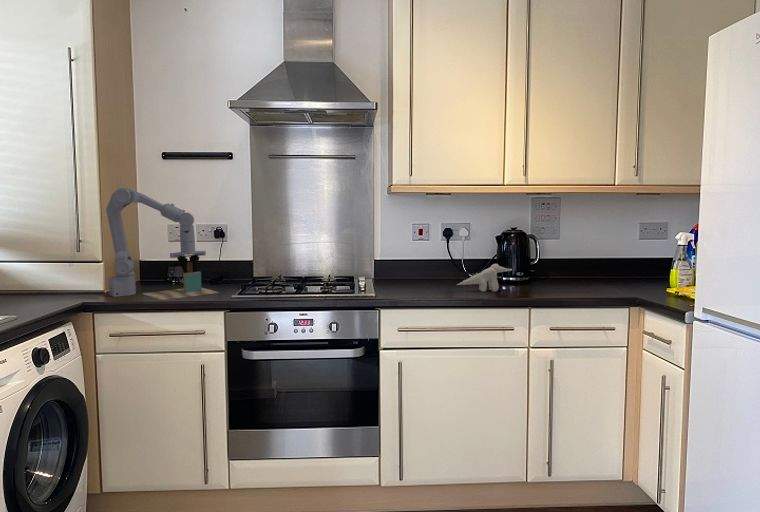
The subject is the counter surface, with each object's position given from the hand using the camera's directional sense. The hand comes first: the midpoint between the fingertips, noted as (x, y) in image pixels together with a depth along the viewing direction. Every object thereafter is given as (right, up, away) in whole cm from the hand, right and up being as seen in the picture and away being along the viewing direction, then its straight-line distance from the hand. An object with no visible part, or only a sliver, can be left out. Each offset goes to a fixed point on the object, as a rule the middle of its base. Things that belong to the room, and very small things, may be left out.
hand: (189, 273), depth 222 cm
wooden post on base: (0, -4, 0) cm, 4 cm away
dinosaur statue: (+124, -7, -4) cm, 124 cm away
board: (-2, -9, -5) cm, 10 cm away
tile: (+2, -7, -1) cm, 8 cm away
